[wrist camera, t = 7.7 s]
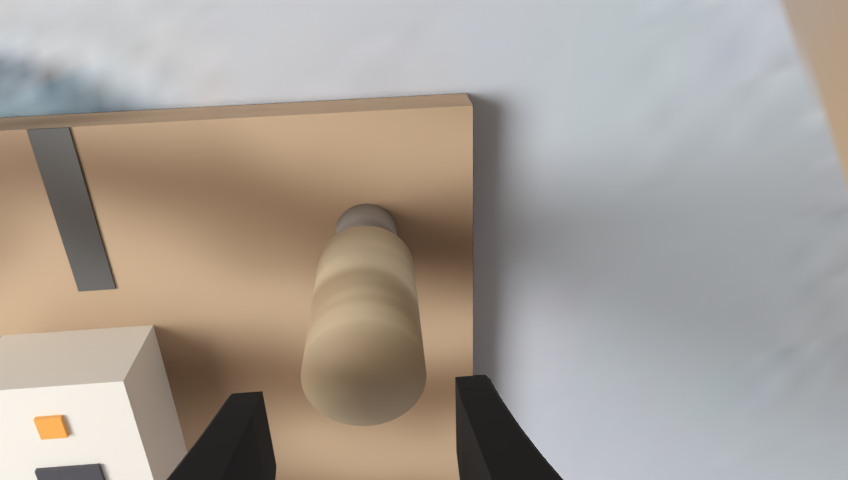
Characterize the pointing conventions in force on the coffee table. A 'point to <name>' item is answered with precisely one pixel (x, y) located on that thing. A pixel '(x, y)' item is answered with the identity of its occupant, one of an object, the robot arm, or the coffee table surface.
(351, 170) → the subfloor board
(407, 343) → the awl
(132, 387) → the block
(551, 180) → the coffee table surface
